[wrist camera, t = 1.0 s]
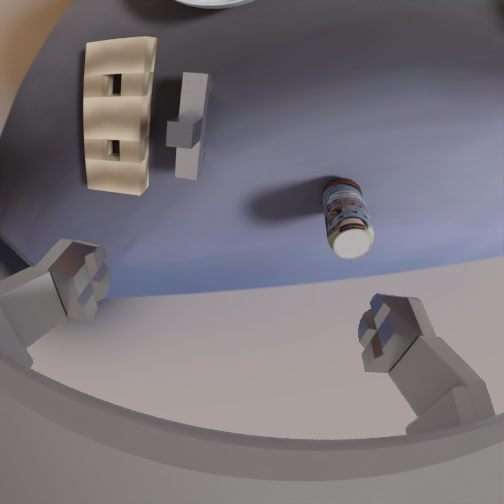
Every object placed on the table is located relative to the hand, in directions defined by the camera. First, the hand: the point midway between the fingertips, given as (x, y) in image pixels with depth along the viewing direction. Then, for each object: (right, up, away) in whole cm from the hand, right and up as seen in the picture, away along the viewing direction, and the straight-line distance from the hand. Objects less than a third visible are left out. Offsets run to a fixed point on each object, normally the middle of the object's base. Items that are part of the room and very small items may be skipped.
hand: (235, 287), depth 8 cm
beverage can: (+14, +10, +34) cm, 38 cm away
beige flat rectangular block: (-19, +22, +29) cm, 41 cm away
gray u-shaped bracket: (-7, +20, +29) cm, 36 cm away
